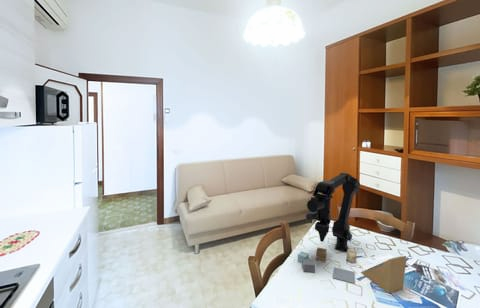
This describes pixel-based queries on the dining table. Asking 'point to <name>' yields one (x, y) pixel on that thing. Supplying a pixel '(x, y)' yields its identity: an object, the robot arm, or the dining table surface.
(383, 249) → the dining table surface
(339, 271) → the felt pad
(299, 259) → the teal block
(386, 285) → the sandwich container
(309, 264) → the charcoal block
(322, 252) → the walnut block
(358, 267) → the dining table surface
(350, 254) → the beech cylinder
